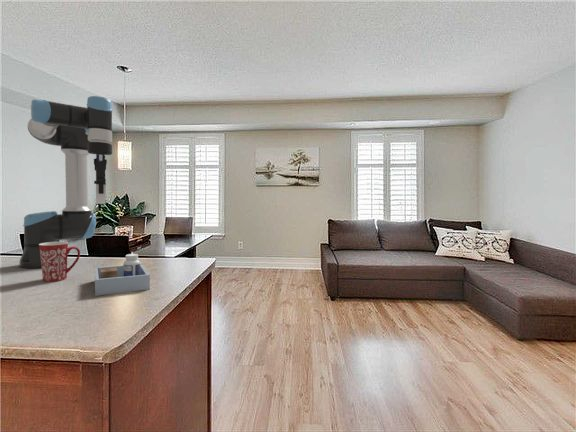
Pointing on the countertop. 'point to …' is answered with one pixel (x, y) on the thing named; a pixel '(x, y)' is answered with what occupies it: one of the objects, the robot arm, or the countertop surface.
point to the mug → (55, 260)
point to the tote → (121, 281)
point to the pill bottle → (131, 265)
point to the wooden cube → (109, 273)
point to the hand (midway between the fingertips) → (100, 203)
